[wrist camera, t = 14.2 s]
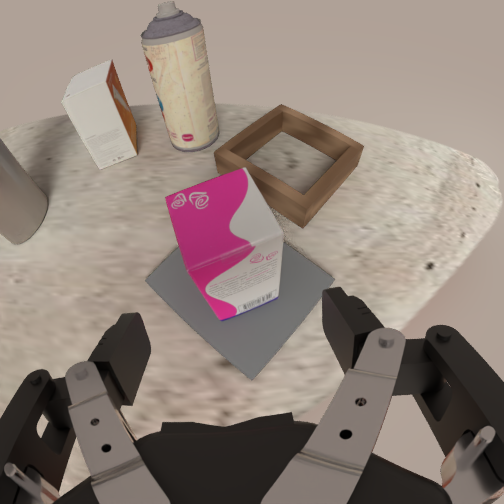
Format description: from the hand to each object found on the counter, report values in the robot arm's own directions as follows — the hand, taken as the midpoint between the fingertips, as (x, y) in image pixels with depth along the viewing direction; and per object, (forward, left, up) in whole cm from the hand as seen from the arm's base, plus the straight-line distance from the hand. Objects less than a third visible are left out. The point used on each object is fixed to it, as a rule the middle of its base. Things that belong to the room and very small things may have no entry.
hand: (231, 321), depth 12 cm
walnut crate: (-10, +19, -14) cm, 26 cm away
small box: (-33, +8, -14) cm, 37 cm away
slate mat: (-5, +4, -14) cm, 15 cm away
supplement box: (-5, +4, -13) cm, 15 cm away
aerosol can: (-24, +16, -14) cm, 32 cm away
